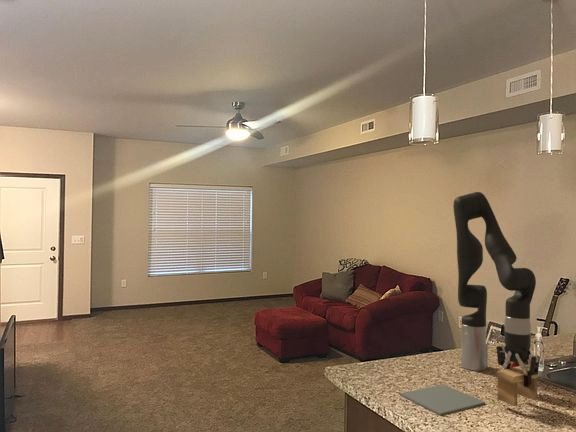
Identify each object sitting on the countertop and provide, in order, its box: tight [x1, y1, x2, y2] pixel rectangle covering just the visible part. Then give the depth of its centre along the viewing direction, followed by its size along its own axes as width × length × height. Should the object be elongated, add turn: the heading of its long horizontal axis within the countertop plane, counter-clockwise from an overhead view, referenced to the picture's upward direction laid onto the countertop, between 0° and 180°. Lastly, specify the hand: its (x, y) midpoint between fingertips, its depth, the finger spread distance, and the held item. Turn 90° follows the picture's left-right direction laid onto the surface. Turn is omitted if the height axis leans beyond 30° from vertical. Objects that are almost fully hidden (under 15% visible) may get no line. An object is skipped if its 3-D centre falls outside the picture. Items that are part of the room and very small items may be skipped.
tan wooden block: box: [496, 366, 539, 407], centre depth 147 cm, size 12×6×9 cm, turn 118°
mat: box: [399, 384, 486, 416], centre depth 152 cm, size 20×18×1 cm
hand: (517, 383), depth 147 cm, fingers closed on tan wooden block, 6 cm apart
